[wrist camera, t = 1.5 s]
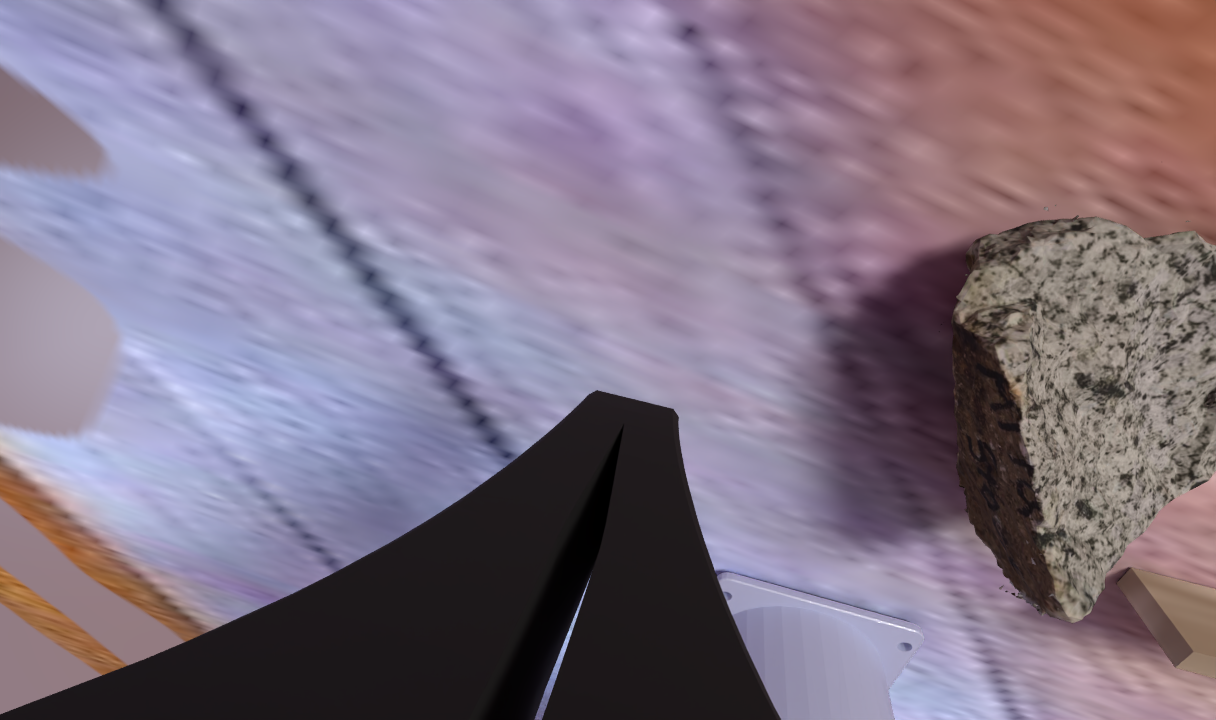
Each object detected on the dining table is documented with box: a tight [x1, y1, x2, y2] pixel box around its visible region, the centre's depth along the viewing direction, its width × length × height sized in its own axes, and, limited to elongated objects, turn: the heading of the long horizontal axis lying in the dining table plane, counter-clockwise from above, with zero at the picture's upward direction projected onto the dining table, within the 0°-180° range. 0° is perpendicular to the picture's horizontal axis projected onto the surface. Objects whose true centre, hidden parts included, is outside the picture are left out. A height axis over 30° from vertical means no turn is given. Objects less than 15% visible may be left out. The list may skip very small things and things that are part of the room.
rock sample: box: [939, 205, 1216, 623], centre depth 14 cm, size 10×8×9 cm
